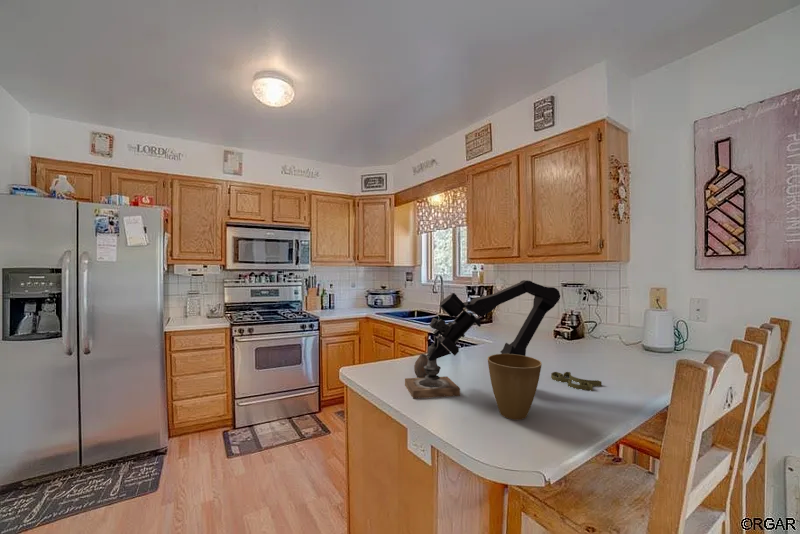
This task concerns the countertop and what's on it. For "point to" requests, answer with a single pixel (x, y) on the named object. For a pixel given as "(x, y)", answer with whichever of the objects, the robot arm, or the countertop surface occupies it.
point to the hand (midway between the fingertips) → (428, 358)
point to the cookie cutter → (583, 383)
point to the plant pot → (514, 383)
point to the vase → (421, 366)
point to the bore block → (441, 390)
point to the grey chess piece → (432, 366)
